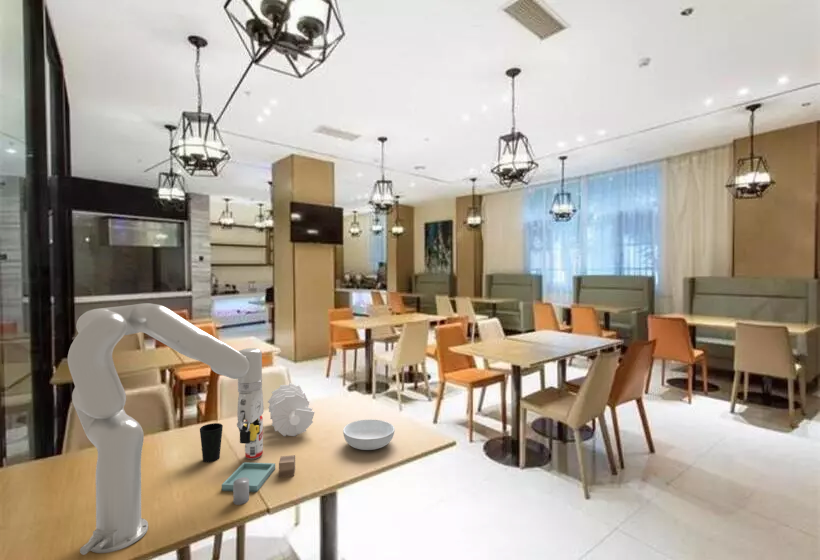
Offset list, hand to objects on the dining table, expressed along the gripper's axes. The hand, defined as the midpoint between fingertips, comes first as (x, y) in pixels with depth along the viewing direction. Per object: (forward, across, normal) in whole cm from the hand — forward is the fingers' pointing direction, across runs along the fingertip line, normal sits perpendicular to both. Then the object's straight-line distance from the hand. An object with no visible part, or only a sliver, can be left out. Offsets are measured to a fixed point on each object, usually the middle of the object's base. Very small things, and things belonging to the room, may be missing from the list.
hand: (250, 437), depth 131 cm
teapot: (+1, 0, 0) cm, 1 cm away
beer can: (+14, +16, +6) cm, 22 cm away
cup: (+14, +13, +21) cm, 29 cm away
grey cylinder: (+14, -12, -3) cm, 19 cm away
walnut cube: (+14, +5, -11) cm, 19 cm away
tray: (+14, 0, 0) cm, 14 cm away
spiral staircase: (+15, +43, +2) cm, 45 cm away
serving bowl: (+15, +29, -36) cm, 48 cm away
